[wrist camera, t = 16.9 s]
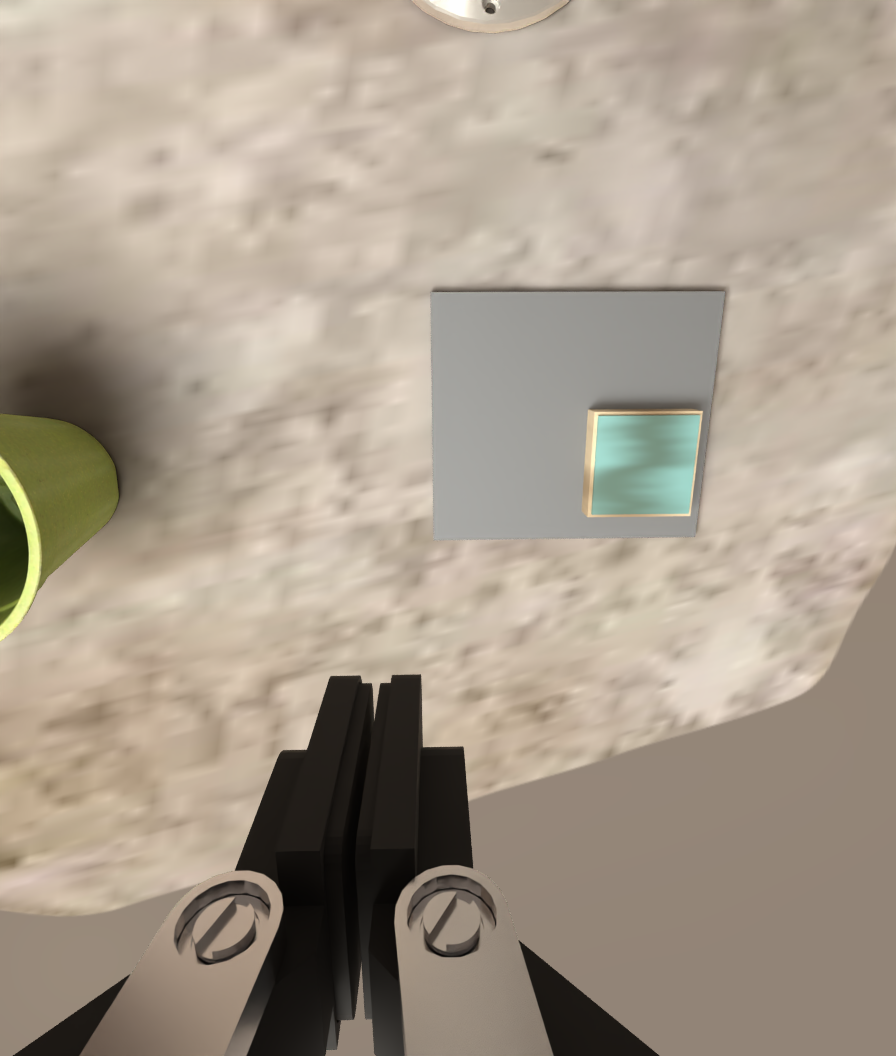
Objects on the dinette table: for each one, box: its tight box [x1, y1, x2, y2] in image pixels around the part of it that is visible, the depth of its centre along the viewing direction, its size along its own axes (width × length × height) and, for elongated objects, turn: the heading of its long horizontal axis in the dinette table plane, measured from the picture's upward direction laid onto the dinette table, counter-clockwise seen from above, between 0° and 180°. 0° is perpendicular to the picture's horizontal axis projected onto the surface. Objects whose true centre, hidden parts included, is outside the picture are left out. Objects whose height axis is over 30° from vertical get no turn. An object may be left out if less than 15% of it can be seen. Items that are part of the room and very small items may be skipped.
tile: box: [582, 409, 703, 517], centre depth 34 cm, size 6×2×6 cm
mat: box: [431, 291, 725, 540], centre depth 34 cm, size 14×16×1 cm
